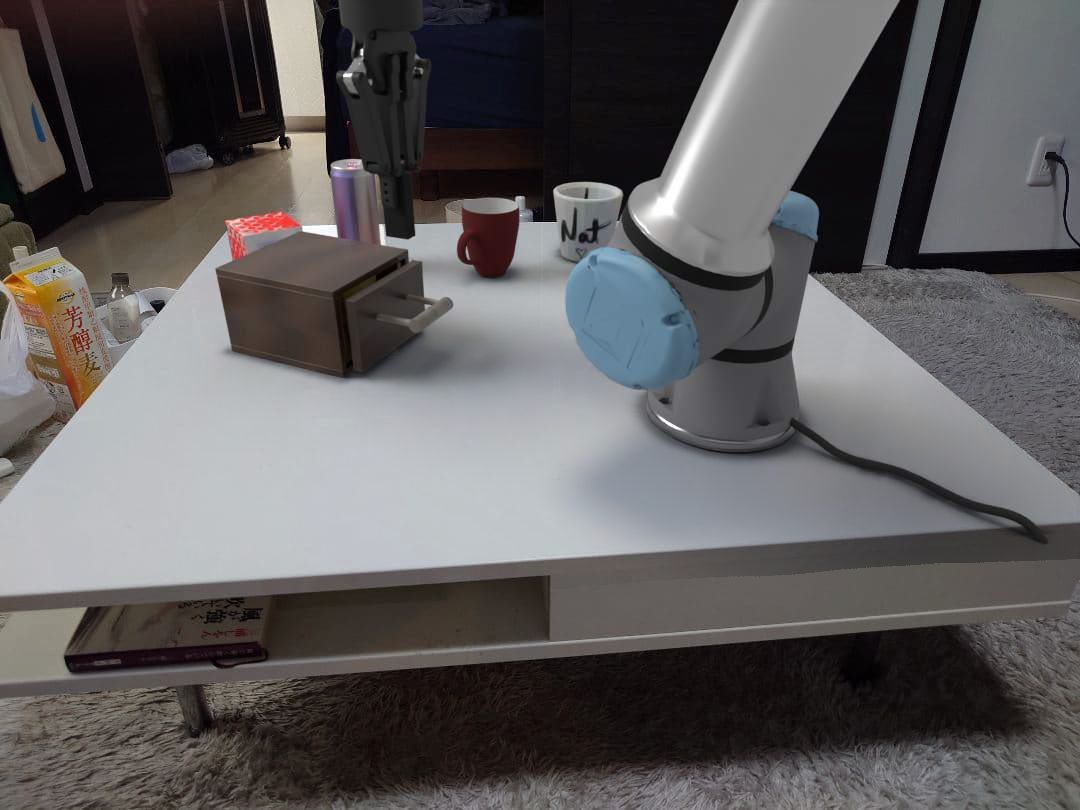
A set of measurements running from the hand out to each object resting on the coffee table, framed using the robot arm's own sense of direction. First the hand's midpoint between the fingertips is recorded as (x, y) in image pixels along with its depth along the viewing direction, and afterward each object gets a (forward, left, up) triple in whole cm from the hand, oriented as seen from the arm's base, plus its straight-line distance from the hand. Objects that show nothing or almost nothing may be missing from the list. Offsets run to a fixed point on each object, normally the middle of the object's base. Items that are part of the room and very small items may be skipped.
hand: (400, 235), depth 82 cm
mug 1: (+4, -27, -15) cm, 31 cm away
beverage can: (+22, -22, -15) cm, 34 cm away
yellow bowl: (+10, 0, -13) cm, 16 cm away
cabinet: (+12, 0, -15) cm, 19 cm away
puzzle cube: (+31, -13, -15) cm, 37 cm away
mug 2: (-5, -44, -15) cm, 47 cm away
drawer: (+6, 0, -14) cm, 15 cm away
